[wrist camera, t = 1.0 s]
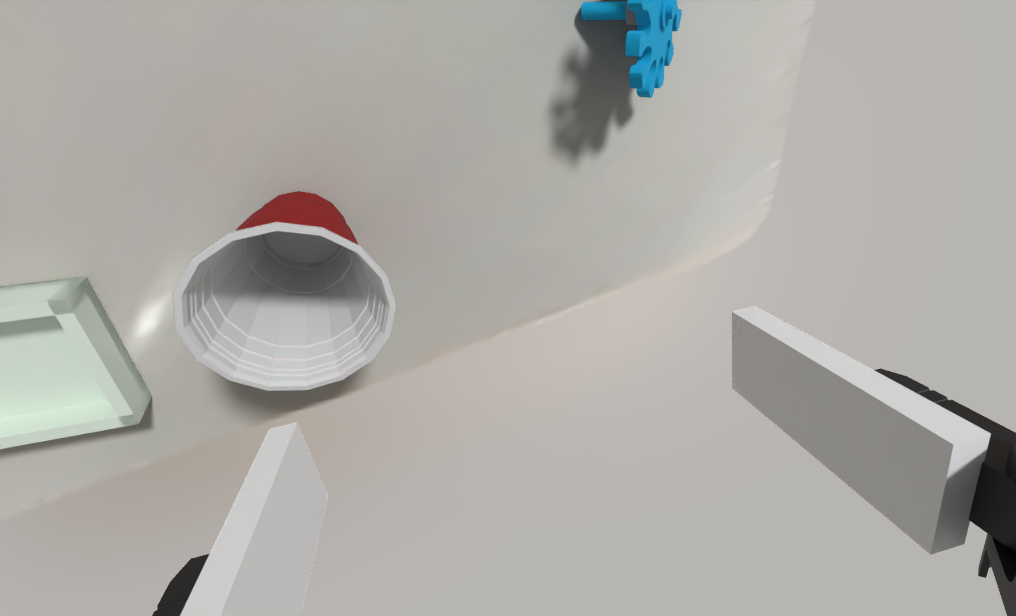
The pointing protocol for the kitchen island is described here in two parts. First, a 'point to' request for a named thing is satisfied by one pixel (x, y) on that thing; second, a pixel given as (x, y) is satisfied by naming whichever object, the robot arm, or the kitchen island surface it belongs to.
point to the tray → (62, 365)
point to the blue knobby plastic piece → (642, 36)
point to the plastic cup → (285, 299)
